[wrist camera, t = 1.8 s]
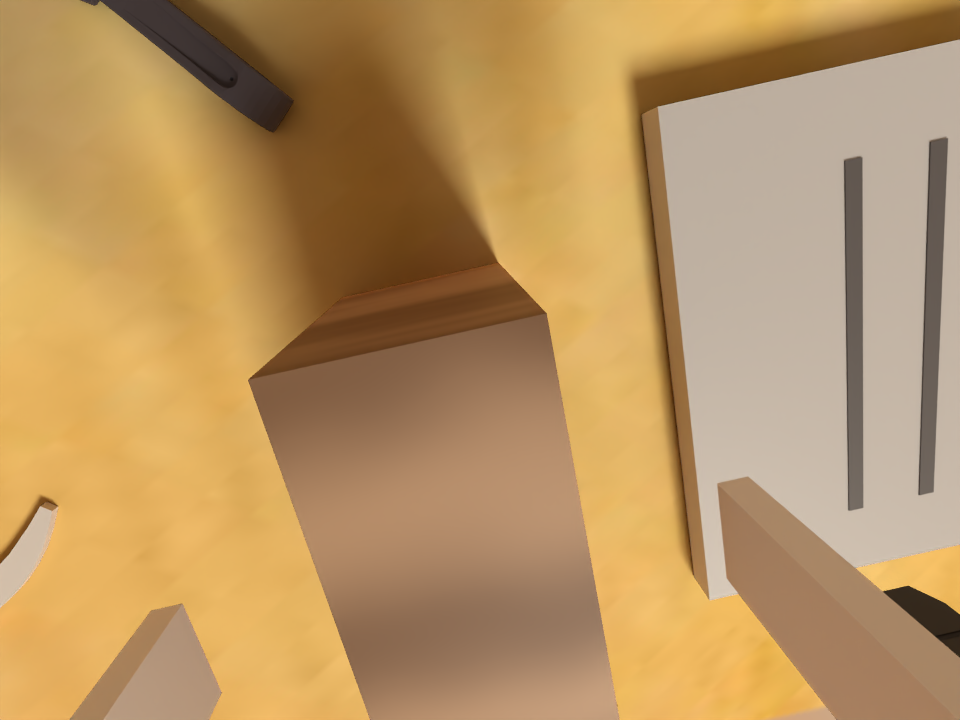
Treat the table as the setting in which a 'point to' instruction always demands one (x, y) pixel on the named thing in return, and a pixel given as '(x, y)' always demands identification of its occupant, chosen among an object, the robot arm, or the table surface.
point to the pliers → (27, 552)
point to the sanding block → (443, 501)
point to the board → (817, 301)
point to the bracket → (205, 58)
